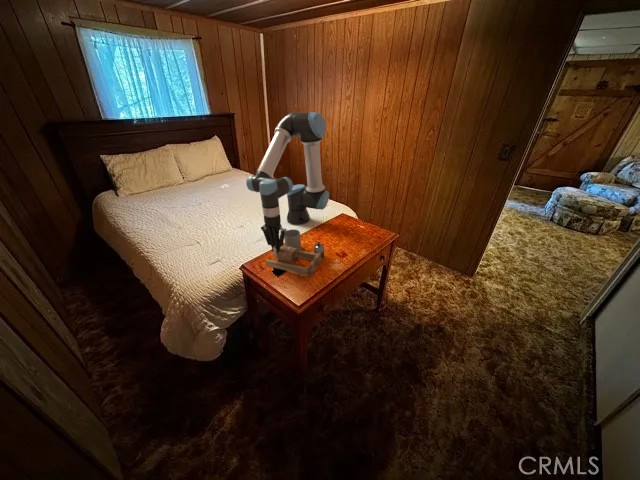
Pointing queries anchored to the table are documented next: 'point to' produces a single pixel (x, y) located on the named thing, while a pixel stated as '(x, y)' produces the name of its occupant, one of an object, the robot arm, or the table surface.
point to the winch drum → (319, 248)
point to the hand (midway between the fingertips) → (277, 257)
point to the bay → (298, 269)
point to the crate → (288, 255)
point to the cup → (293, 239)
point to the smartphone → (278, 272)
